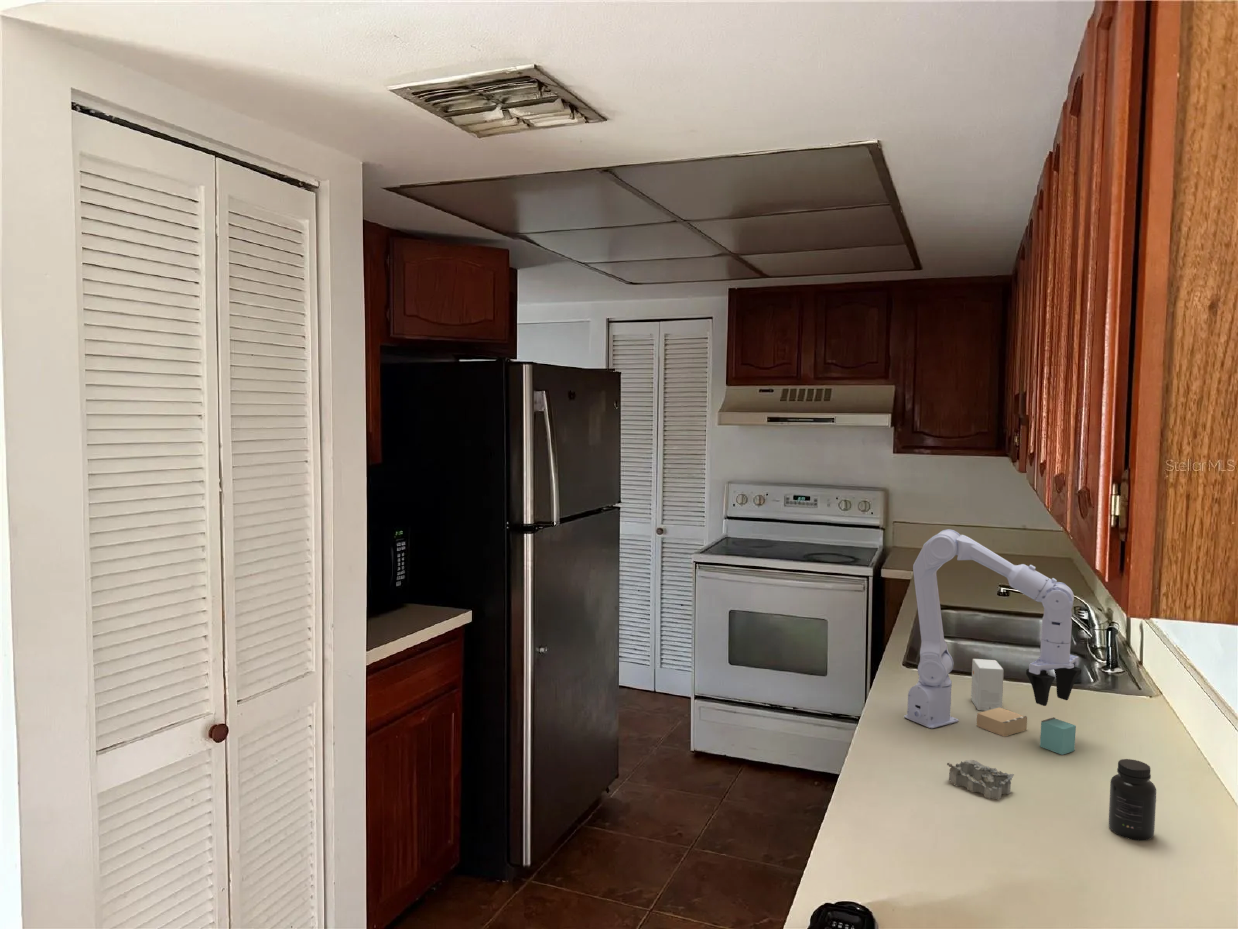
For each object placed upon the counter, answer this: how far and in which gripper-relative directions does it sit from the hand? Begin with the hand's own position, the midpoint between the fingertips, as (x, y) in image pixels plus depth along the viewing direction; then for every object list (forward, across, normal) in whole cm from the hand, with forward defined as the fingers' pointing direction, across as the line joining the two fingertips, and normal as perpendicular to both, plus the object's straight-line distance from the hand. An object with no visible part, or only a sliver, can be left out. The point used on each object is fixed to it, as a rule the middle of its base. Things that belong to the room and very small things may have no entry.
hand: (1052, 701), depth 186 cm
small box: (+10, +7, +21) cm, 25 cm away
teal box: (+9, -2, -3) cm, 10 cm away
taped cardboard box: (+9, -2, +10) cm, 14 cm away
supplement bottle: (+9, -24, -31) cm, 40 cm away
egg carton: (+10, -32, -7) cm, 34 cm away
